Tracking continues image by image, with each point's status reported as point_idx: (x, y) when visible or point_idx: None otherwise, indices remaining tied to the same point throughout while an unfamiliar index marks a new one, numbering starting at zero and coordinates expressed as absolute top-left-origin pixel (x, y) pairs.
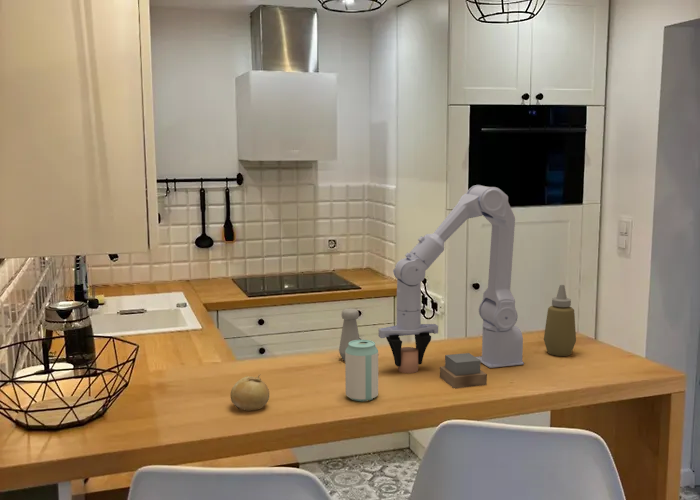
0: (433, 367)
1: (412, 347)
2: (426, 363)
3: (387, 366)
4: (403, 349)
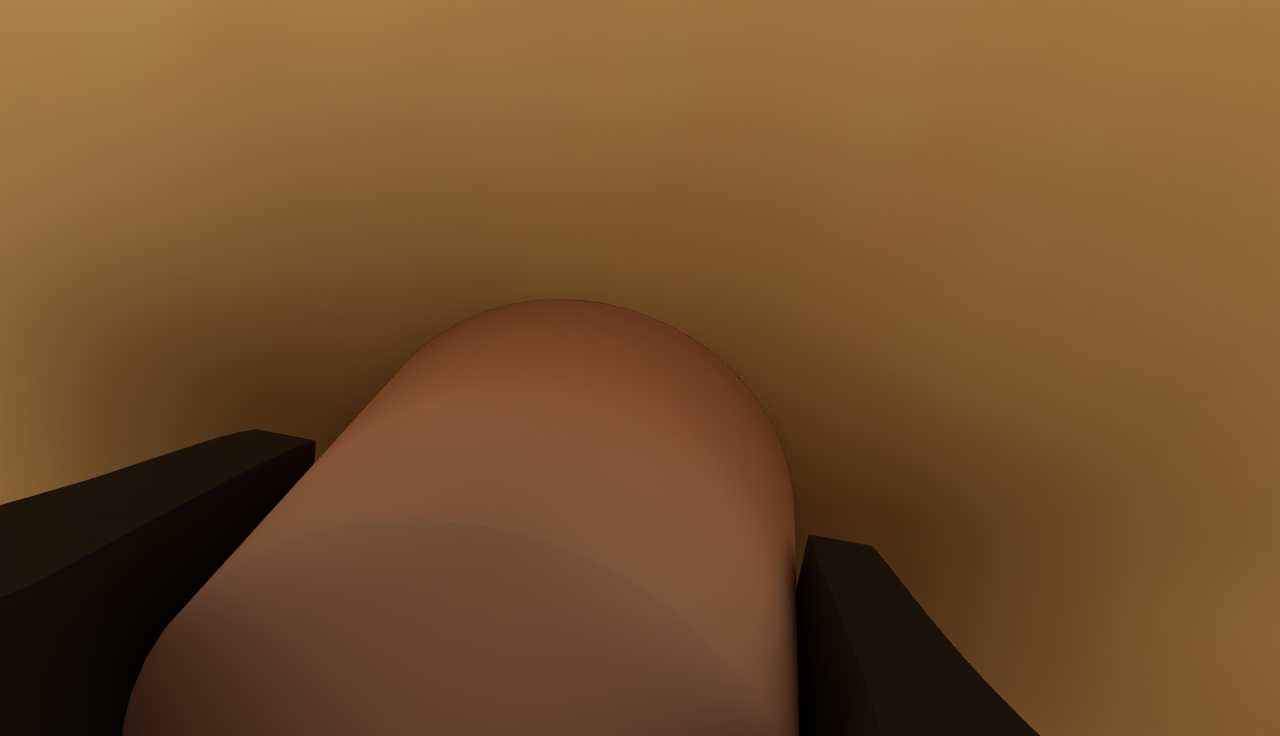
0: (1181, 626)
1: (731, 686)
2: (1245, 313)
3: (241, 73)
4: (319, 722)
